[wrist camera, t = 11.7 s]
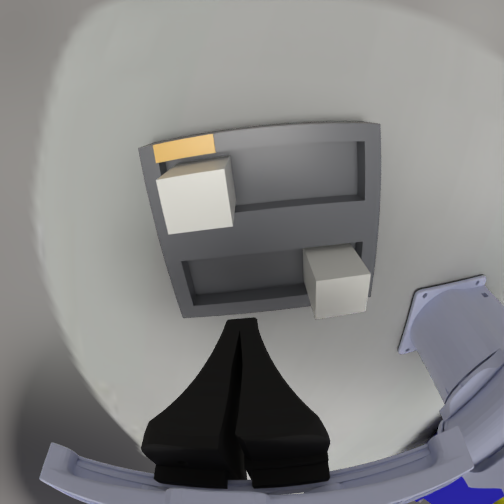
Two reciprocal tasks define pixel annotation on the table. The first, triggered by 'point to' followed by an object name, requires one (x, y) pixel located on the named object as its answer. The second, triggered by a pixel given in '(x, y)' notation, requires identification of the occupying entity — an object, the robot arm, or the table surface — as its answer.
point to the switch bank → (271, 211)
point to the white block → (335, 280)
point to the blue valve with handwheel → (464, 494)
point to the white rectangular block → (198, 195)
